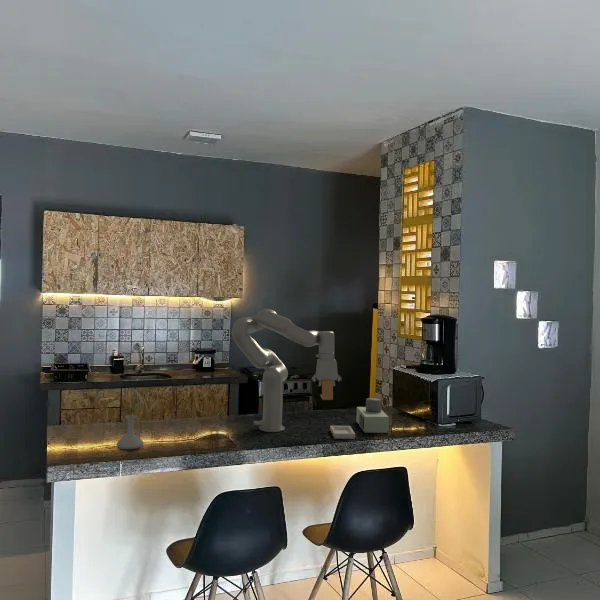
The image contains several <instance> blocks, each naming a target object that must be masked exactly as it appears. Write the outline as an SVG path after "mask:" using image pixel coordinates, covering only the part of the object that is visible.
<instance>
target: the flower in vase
mask: <svg viewBox="0 0 600 600" xmlns="http://www.w3.org/2000/svg"><path fill="white" fill-rule="evenodd" d="M133 392H134V396H135V399H134V401H133V403H132V406H131V408H129V409H128V411H127V413H130V414H126V415H124V417H125V419H126V422H127V432H126V433H125V435H123V437H121V438H120V439H119V440H118V441H117V442H116V447H117V448H119V449H121V450H135V449H139V448H141V447H143V446H144V444H145V443H144V441H143V440H142V438H140V437H139V436H138V435H136V434H135V432H134V423H135V420H136V418H137V415H136V414H133V413H134V412H137V410H138V409H137V407H136V406H135V402H136V401H137V402H138V403H139V405H141V406H144V404H145V402H144V399H143V397H142V395H141V393H140V392H138V388H137V389H136V388H135V389H134V391H133Z"/></svg>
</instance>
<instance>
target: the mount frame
mask: <svg viewBox="0 0 600 600" xmlns="http://www.w3.org/2000/svg"><path fill="white" fill-rule="evenodd" d="M330 431H331V432H330ZM329 432H330V434H331V433H332V434H331V435H332V437H333V439H334V440H337V439H338V440H339V439H340V440H345V439H346V440H355V439H356V433H355V431H354V430H353V428H352V427H351V426H350V425H330V426H329Z"/></svg>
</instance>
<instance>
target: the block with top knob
mask: <svg viewBox="0 0 600 600" xmlns="http://www.w3.org/2000/svg"><path fill="white" fill-rule="evenodd" d="M389 421H390V416H389V415H387V414H386V413H385V412H384V410H382V399H380V398H378V397H377V398H375V397H368V398H366V399H365V406H357V407H356V423H357V424H359V425H358V426H359V427H360V429H361V430H362V431H363V432H364V434H365V433H371V434H372V433H373V434H374V433H378V434H381V433H382V434H383V433H384V434H389V428H390V427H389V426H390V425H389V424H390V423H389Z"/></svg>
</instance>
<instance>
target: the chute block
mask: <svg viewBox="0 0 600 600" xmlns="http://www.w3.org/2000/svg"><path fill="white" fill-rule="evenodd" d="M321 386H322V395H320V394H319V396H320V398H321V399H322V401H326V400H327V401H333V400H334V392H333V380H322V383H321Z"/></svg>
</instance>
